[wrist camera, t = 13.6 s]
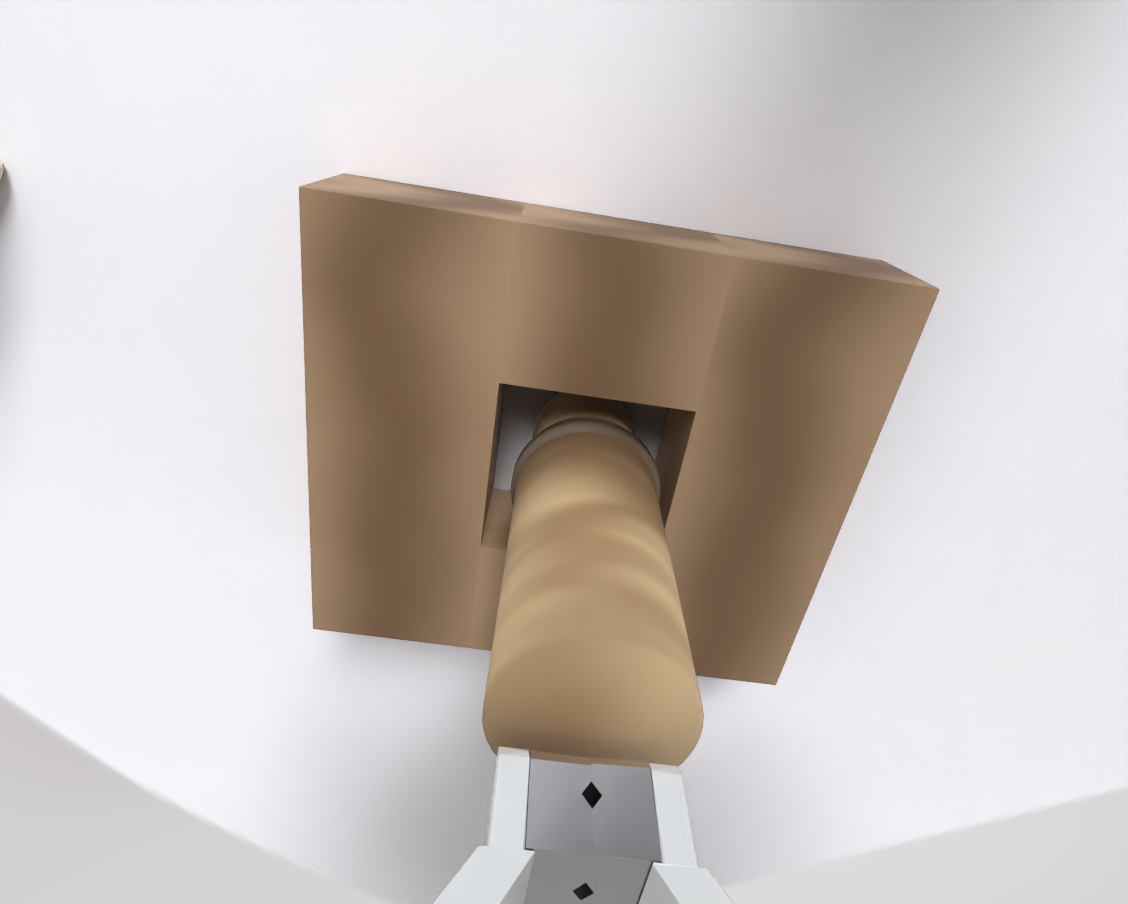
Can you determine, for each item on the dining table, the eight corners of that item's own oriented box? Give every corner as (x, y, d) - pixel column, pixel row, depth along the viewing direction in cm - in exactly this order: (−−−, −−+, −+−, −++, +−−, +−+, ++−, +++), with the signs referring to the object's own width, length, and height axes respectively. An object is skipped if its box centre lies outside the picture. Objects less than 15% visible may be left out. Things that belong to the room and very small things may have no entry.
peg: (658, 384, 22) (740, 650, 11) (632, 495, 24) (681, 810, 13) (528, 365, 22) (485, 618, 11) (513, 479, 24) (464, 787, 13)
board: (882, 260, 20) (939, 289, 17) (751, 616, 26) (775, 684, 23) (343, 173, 19) (299, 186, 16) (344, 565, 25) (313, 628, 22)
